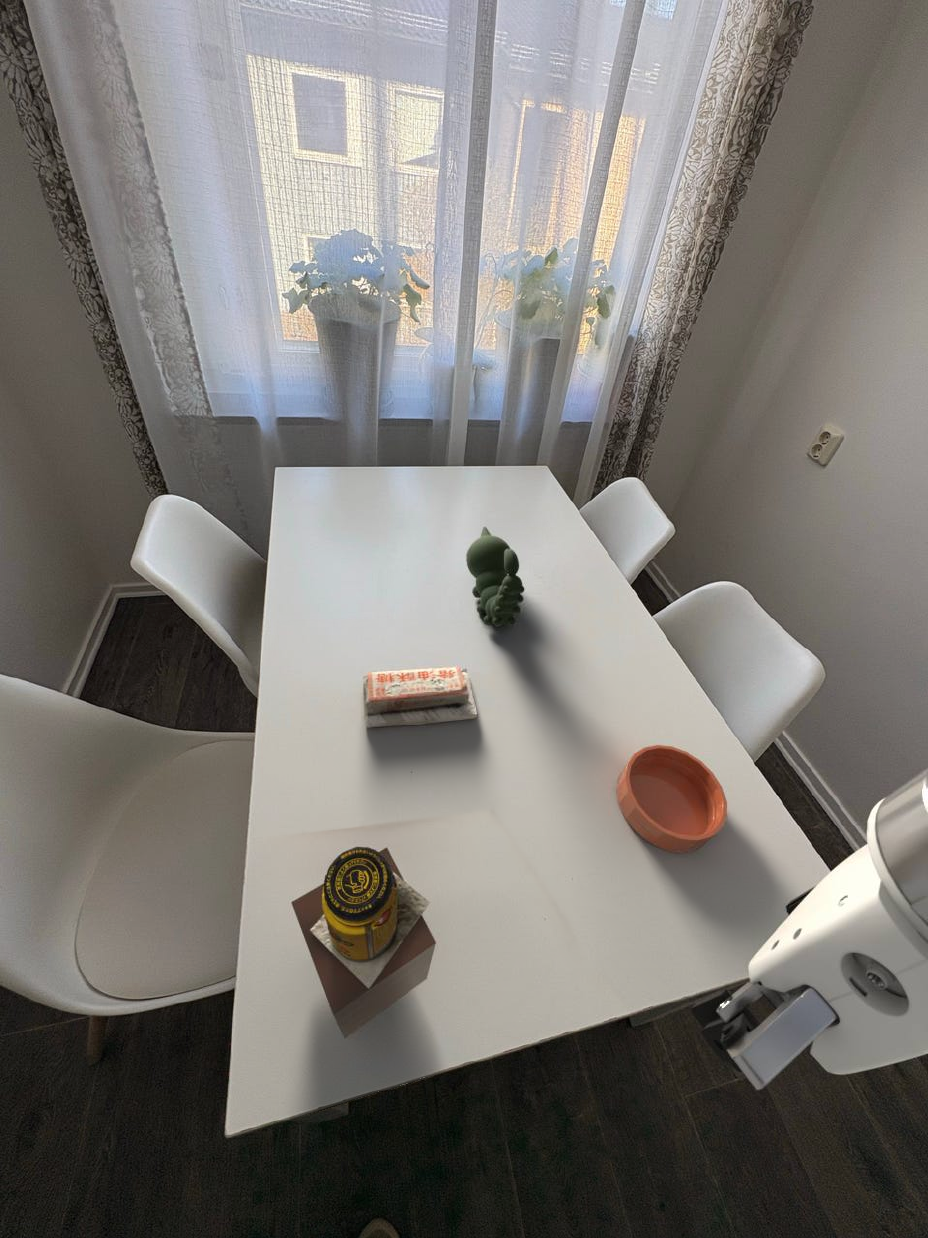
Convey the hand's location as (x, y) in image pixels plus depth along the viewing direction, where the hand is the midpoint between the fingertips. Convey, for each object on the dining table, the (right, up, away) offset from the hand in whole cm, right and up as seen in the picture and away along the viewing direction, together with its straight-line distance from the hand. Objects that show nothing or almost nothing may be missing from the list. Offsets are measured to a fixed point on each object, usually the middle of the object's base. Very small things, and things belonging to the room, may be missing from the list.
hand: (765, 978), depth 30 cm
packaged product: (-25, +8, +55) cm, 61 cm away
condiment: (-27, -7, +18) cm, 33 cm away
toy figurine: (-13, +25, +75) cm, 80 cm away
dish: (+12, -6, +47) cm, 49 cm away
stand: (-29, -18, +29) cm, 45 cm away
